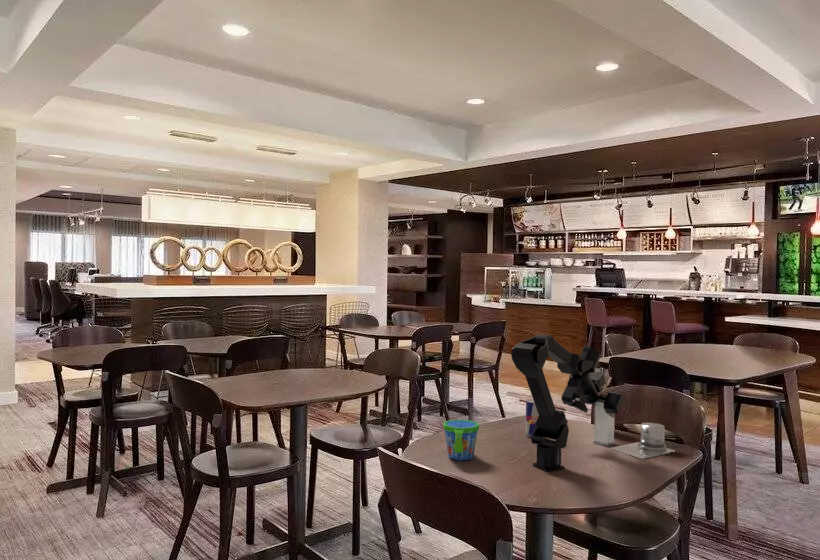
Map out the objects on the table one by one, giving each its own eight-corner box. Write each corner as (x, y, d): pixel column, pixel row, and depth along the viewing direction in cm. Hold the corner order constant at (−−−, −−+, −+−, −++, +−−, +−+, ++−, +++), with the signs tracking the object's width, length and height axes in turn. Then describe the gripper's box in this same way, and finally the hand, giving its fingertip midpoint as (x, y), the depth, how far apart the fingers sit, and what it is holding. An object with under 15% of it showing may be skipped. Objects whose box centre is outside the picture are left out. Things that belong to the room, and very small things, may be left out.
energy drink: (523, 437, 200) (524, 401, 200) (528, 433, 204) (528, 398, 204) (539, 439, 197) (539, 403, 197) (543, 435, 202) (544, 400, 202)
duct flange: (642, 459, 178) (642, 434, 178) (610, 448, 188) (610, 425, 188) (677, 451, 186) (677, 428, 186) (644, 441, 196) (645, 419, 196)
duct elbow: (607, 446, 190) (608, 402, 190) (593, 443, 194) (594, 400, 194) (618, 441, 196) (619, 399, 196) (604, 438, 199) (605, 397, 199)
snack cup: (449, 448, 186) (449, 415, 186) (482, 451, 183) (483, 418, 183) (437, 463, 171) (437, 428, 171) (473, 467, 168) (473, 431, 168)
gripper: (621, 367, 181) (636, 398, 189) (566, 360, 194) (582, 389, 202) (608, 397, 175) (624, 427, 183) (553, 388, 188) (570, 416, 196)
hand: (600, 414), depth 191 cm, fingers open, 9 cm apart
